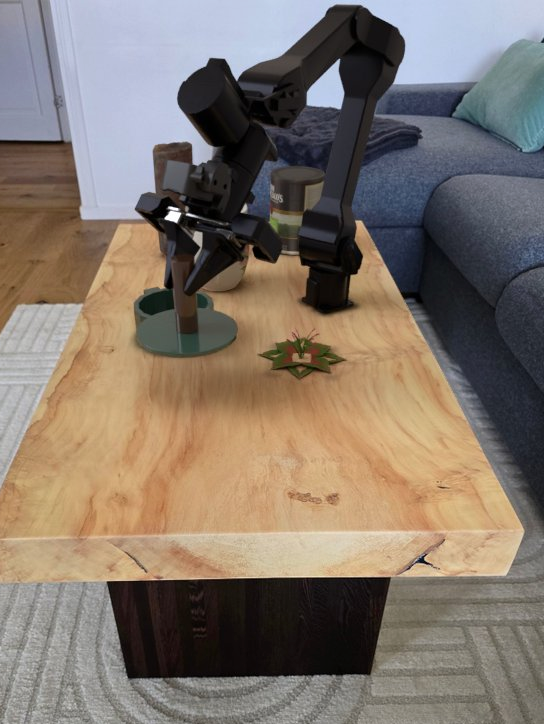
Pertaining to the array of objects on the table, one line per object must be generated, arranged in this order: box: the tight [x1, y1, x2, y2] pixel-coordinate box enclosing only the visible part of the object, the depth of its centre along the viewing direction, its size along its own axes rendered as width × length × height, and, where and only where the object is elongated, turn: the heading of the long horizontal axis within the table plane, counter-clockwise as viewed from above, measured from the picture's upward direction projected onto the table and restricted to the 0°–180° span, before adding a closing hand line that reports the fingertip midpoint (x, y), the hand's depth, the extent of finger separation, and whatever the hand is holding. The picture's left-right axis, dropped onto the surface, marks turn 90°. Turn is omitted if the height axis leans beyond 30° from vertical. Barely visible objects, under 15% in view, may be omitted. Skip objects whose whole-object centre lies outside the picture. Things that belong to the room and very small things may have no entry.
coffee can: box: [269, 165, 326, 256], centre depth 124 cm, size 10×10×14 cm
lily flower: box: [257, 327, 347, 380], centre depth 88 cm, size 12×12×5 cm
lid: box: [135, 254, 239, 359], centre depth 76 cm, size 13×13×10 cm
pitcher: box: [185, 203, 251, 292], centre depth 108 cm, size 11×18×14 cm, turn 177°
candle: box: [152, 141, 194, 256], centre depth 119 cm, size 8×7×20 cm
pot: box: [133, 286, 215, 353], centre depth 94 cm, size 12×17×6 cm
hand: (176, 291), depth 74 cm, fingers closed on lid, 3 cm apart
